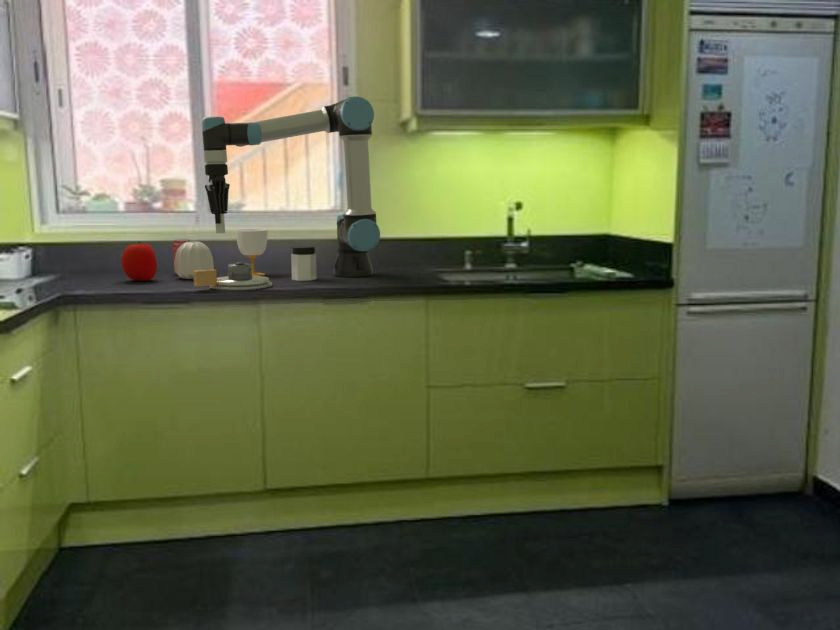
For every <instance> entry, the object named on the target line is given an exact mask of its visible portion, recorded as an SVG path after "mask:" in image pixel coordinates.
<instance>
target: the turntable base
mask: <svg viewBox="0 0 840 630" xmlns="http://www.w3.org/2000/svg"><path fill="white" fill-rule="evenodd" d="M270 286H271V287H272V286H273V282H272V281H270V280H269V283H267V284H262V285H255V286H218V285H209V289H211V288H212V290H215V289H216V291H226V292H227V291H228V292H230V291H233V292H241V291H242V292H243V291H244V292H245V291H257V290H256V289H258V290H261V289H260V288H265V289H267V288H266V287H269V288H271V287H270Z"/></svg>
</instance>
